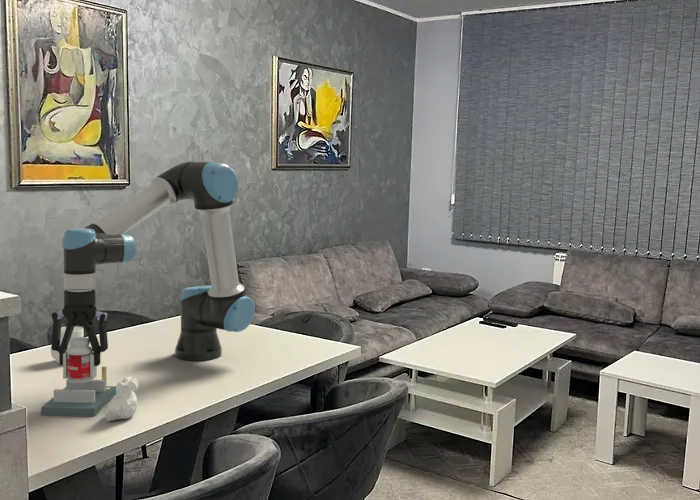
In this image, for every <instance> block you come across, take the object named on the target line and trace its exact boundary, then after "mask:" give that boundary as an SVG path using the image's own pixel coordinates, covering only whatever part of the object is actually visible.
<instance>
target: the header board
mask: <svg viewBox="0 0 700 500" xmlns="http://www.w3.org/2000/svg"><path fill="white" fill-rule="evenodd" d="M107 368H108V367H107V366H105V365H103V366H101V379H92V380H91V381H90V382H87V383H82V384H73V383H70V382H68V380H67V379H66V380H65V382H66V383H65V387H64V388H61V389H60V388H59V389H58V388H56V389H54V390H53V397H51V399H49V400H48V401H47V402H45V404H43V405H42V406H41V408H40V413H41V416H61V417H62V416H65V417H66V416H67V417H72V416H73V417H96V416H97V415H98V414H99V413H100V411H101V410H102V409H103V408H105V406H106V405H107V404H109V403H110V402H111V400H112V399H113V397H114V396H115V395H116V394H117V387H116V385H115V386H114V385H110V386H109V385H107V384H108V383H107V379H108V378H107Z"/></svg>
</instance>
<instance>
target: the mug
mask: <svg viewBox="0 0 700 500" xmlns="http://www.w3.org/2000/svg"><path fill="white" fill-rule="evenodd" d="M65 330H66V326H61V336H60V345H61V342H62V339H63V336H64V333H65ZM84 330H85V328H84V327H83V326H75V327H74V329H73V332H72V335H71V338H75V337H84ZM71 338H70V339H71ZM70 347H71V345H70V341H69V344H68V347H67V350H68V349H69V348H70ZM67 350H66V351H67ZM50 353H51V355H50V356H51V357H52V359H53V360H55V362H56V363H57V364H59V365H60V363H59V352H58V351H53V350H52V344H50Z"/></svg>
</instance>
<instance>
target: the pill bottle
mask: <svg viewBox="0 0 700 500" xmlns="http://www.w3.org/2000/svg"><path fill="white" fill-rule="evenodd" d="M70 345H71V347H70V348H69V349H68V350H67V378H66V380H68V382H70V383H73V384H82V383H87V382H90V381H91V380H93V379H90V354H92V353H93V350H92V347H91V344H90V341H89V338H88V336H87V337H75V338H71V339H70Z"/></svg>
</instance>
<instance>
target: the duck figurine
mask: <svg viewBox="0 0 700 500" xmlns="http://www.w3.org/2000/svg"><path fill="white" fill-rule="evenodd" d="M138 381H139V380H138V379H136V378H135V377H132V376H126V377H124V378H123V379H122V380H121V381H120V382H118V383H116V384H115V386H116V389H117V390H118V393H116V394H115V395H114V396H113V397H112V399H111V400H110V401H109V402H108V403H107V404H108V405H107V406H106V409H105V412H104V413H105V414H104V415H105V416H104V417H105V421H107V422H112V421H118V420H127V419H129V418H131V417H132V416H133V415H135V413H136V411H137V409H138V399H137V398H138V397H137V394H136V393H135V392H136V391H137V390H138V389H139V382H138Z"/></svg>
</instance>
